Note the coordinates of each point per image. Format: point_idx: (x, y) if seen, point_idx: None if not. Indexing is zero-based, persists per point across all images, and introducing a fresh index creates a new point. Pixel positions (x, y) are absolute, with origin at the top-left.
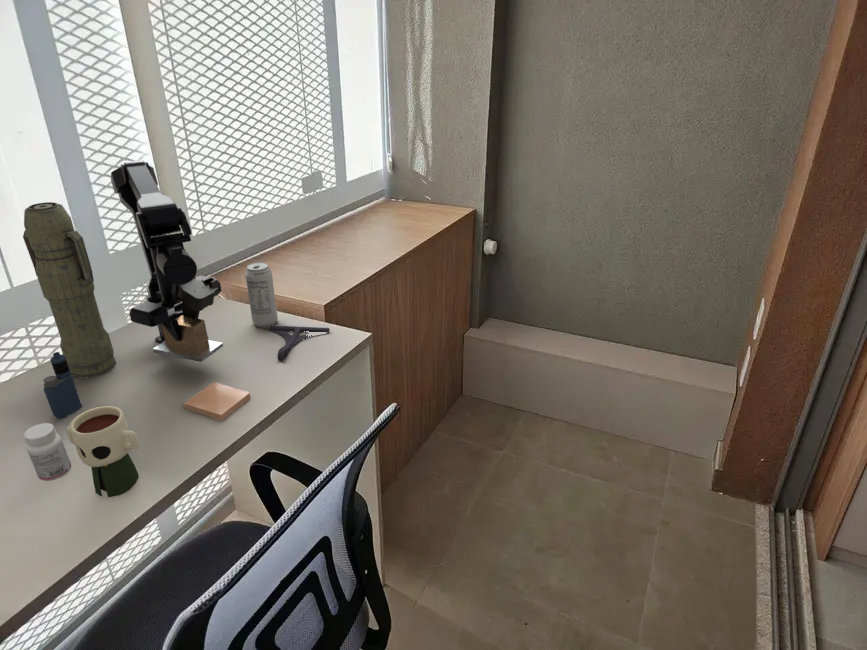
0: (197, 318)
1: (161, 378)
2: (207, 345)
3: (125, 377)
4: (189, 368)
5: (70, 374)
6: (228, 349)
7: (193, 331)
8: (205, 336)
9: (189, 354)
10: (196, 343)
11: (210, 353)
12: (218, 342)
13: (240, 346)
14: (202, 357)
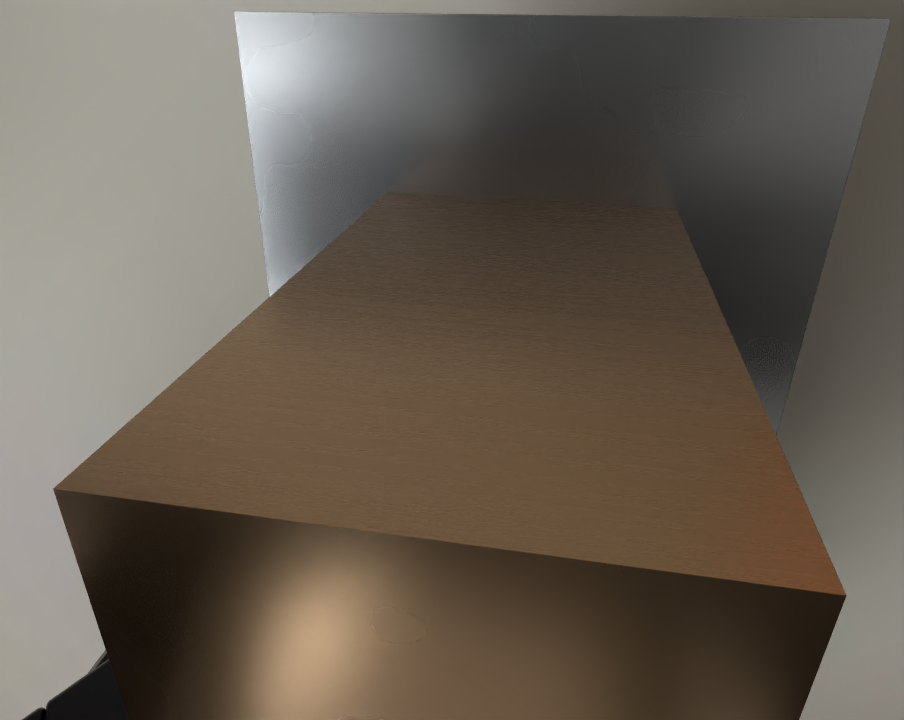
0: (86, 701)
1: (803, 466)
2: (423, 200)
3: (823, 699)
4: None
5: None
6: (141, 179)
7: (785, 465)
8: (379, 257)
9: (751, 316)
10: (693, 273)
11: (588, 15)
12: (257, 94)
13: (35, 92)
14: (820, 24)
